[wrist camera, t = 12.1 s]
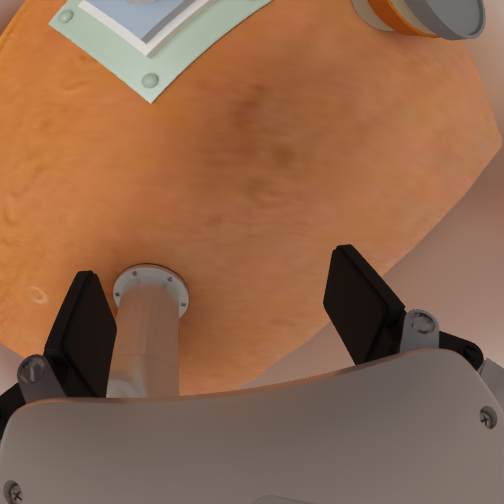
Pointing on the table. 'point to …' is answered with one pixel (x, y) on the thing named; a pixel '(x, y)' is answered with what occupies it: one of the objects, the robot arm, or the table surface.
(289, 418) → the robot arm
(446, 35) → the reusable coffee cup
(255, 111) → the table surface
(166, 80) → the stepped tiered stack
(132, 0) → the white tapered cup
